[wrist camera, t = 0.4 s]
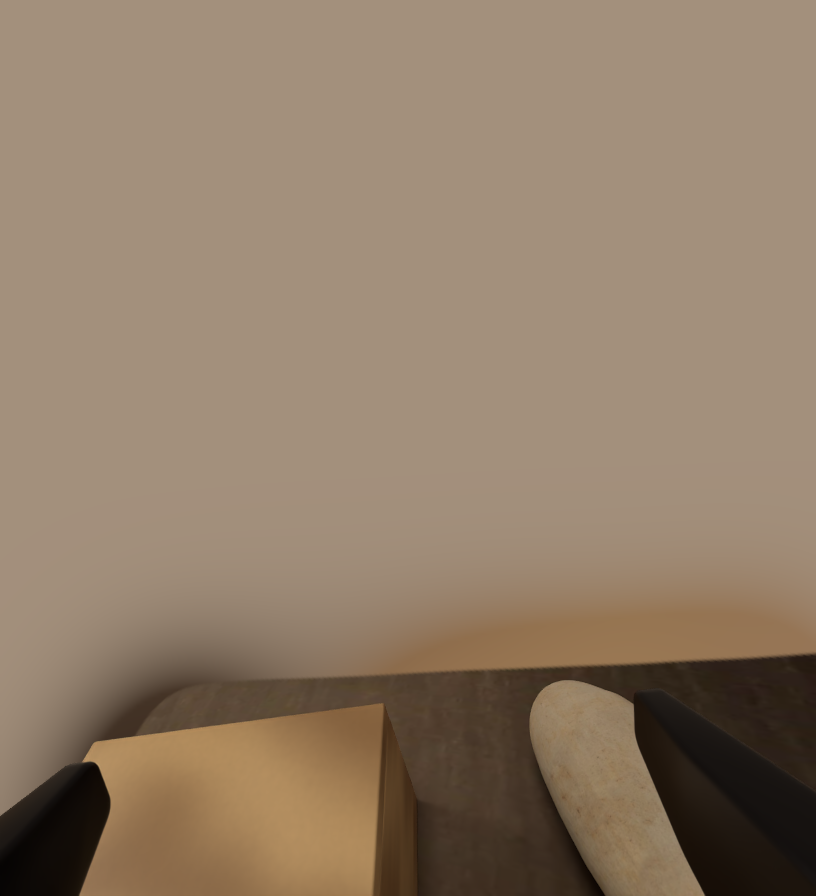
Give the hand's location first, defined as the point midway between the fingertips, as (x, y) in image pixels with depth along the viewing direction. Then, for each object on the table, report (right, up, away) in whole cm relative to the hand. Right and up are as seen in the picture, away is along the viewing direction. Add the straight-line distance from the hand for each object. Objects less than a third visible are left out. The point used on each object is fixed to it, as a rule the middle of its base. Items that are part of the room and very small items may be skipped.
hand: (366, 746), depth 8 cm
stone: (+10, -11, +10) cm, 18 cm away
